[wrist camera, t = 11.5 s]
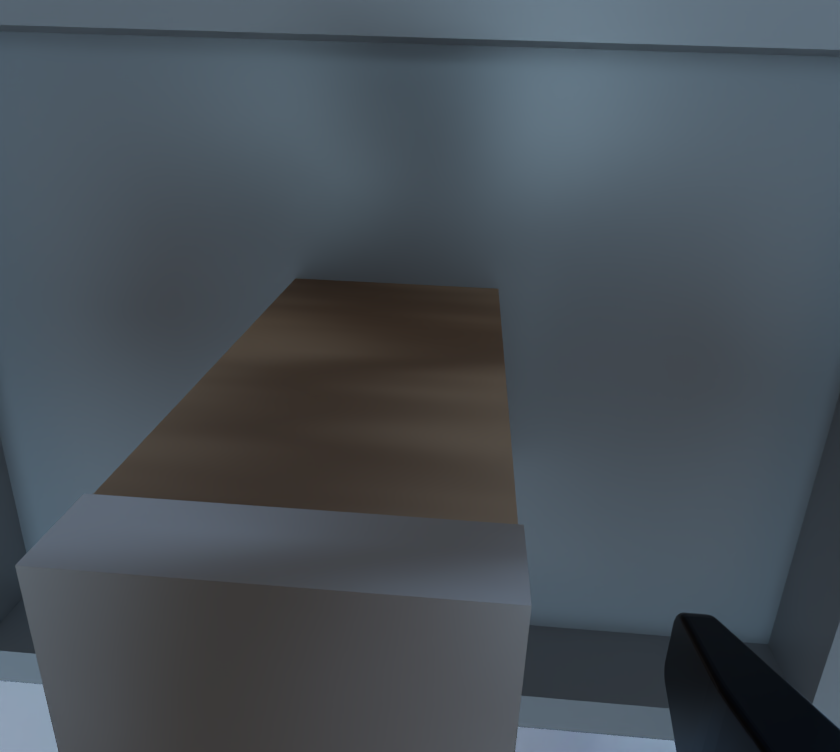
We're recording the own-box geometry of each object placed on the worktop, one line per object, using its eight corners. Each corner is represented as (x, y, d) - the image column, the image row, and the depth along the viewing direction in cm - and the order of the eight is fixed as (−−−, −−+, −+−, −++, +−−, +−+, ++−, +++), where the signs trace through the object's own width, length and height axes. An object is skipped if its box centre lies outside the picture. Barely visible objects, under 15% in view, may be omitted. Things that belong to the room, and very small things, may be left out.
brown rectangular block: (501, 286, 15) (531, 606, 6) (486, 470, 17) (494, 936, 8) (293, 276, 16) (14, 565, 6) (300, 457, 18) (92, 893, 8)
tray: (988, 3, 13) (1123, -17, 10) (789, 659, 19) (840, 755, 17) (-129, -25, 15) (-270, -50, 12) (18, 597, 21) (-53, 675, 18)
